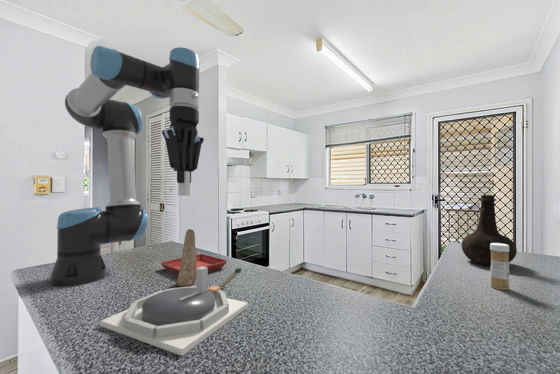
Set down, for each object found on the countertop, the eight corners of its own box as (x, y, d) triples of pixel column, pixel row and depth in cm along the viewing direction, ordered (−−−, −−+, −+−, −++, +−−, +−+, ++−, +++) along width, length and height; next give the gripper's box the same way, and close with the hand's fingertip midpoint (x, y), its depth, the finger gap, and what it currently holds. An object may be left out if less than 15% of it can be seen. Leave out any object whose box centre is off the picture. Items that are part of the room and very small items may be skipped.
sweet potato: (178, 290, 81) (198, 287, 84) (182, 233, 79) (203, 232, 82) (173, 281, 86) (193, 278, 90) (177, 227, 84) (197, 226, 88)
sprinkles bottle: (496, 284, 85) (496, 242, 85) (513, 289, 80) (512, 244, 80) (486, 286, 83) (486, 243, 83) (503, 291, 79) (503, 246, 79)
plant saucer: (159, 270, 100) (159, 261, 100) (201, 261, 113) (201, 253, 113) (184, 281, 88) (185, 271, 88) (228, 269, 102) (228, 260, 102)
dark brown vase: (470, 267, 103) (470, 195, 103) (455, 256, 120) (455, 194, 120) (527, 272, 98) (527, 195, 98) (502, 259, 115) (502, 194, 115)
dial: (170, 335, 52) (170, 292, 52) (127, 314, 61) (128, 277, 61) (228, 306, 65) (228, 271, 66) (186, 292, 74) (187, 261, 74)
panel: (100, 326, 58) (101, 309, 59) (179, 291, 79) (179, 279, 79) (182, 356, 48) (182, 335, 48) (248, 306, 68) (248, 292, 68)
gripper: (175, 99, 65) (175, 196, 65) (211, 113, 77) (210, 195, 77) (154, 103, 68) (153, 195, 68) (191, 116, 80) (191, 194, 80)
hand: (184, 195), depth 72 cm, fingers closed
